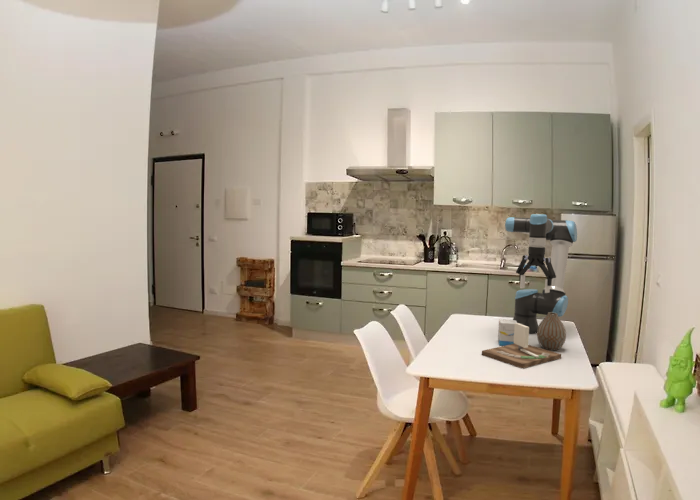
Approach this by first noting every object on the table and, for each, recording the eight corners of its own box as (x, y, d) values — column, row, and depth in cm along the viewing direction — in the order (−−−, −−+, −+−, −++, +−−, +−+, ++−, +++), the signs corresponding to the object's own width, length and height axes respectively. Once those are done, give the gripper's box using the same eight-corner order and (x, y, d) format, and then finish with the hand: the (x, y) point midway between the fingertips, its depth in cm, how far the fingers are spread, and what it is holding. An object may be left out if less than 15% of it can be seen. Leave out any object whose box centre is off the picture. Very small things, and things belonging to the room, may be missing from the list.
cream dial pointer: (513, 347, 227) (514, 323, 226) (517, 347, 227) (518, 322, 226) (535, 357, 211) (536, 331, 210) (539, 357, 212) (540, 331, 211)
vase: (536, 350, 231) (538, 314, 230) (535, 343, 244) (537, 309, 242) (566, 353, 227) (568, 317, 226) (564, 346, 239) (566, 311, 238)
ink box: (517, 347, 236) (518, 323, 235) (499, 345, 238) (500, 322, 237) (514, 342, 244) (516, 320, 244) (497, 341, 246) (498, 318, 245)
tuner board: (519, 346, 237) (520, 341, 237) (561, 358, 219) (561, 353, 219) (481, 354, 222) (481, 350, 221) (522, 368, 204) (523, 363, 203)
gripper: (510, 244, 238) (507, 287, 240) (556, 248, 218) (553, 295, 220) (519, 244, 242) (517, 285, 244) (565, 248, 222) (562, 293, 224)
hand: (534, 290), depth 232 cm, fingers open, 13 cm apart
